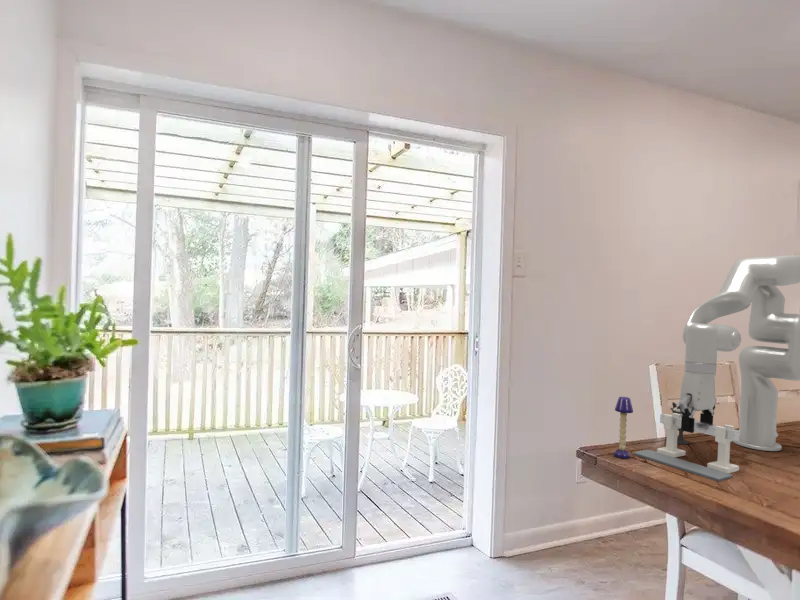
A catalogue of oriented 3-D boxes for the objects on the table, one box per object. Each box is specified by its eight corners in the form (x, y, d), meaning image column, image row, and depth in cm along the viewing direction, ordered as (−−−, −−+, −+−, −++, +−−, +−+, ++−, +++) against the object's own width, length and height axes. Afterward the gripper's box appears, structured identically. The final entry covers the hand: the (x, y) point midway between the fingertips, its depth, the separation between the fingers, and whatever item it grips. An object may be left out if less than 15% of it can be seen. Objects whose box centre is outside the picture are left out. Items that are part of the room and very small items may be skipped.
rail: (664, 422, 148) (665, 413, 148) (739, 439, 131) (739, 430, 131) (660, 422, 147) (660, 414, 147) (734, 441, 130) (734, 431, 130)
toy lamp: (609, 453, 143) (612, 395, 143) (625, 453, 143) (627, 395, 143) (618, 458, 138) (621, 398, 138) (634, 459, 138) (637, 399, 138)
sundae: (696, 446, 154) (698, 397, 154) (672, 443, 156) (674, 396, 156) (688, 440, 161) (690, 394, 161) (665, 438, 162) (668, 392, 162)
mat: (647, 451, 146) (647, 449, 146) (733, 477, 127) (733, 474, 127) (633, 454, 143) (633, 452, 143) (719, 481, 123) (719, 479, 123)
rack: (668, 450, 149) (670, 411, 148) (738, 470, 132) (740, 427, 132) (656, 452, 145) (658, 413, 145) (727, 473, 129) (729, 429, 129)
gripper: (702, 366, 146) (699, 424, 146) (669, 367, 137) (666, 429, 137) (730, 370, 140) (727, 430, 140) (697, 371, 131) (694, 436, 131)
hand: (696, 430), depth 139 cm, fingers open, 9 cm apart
